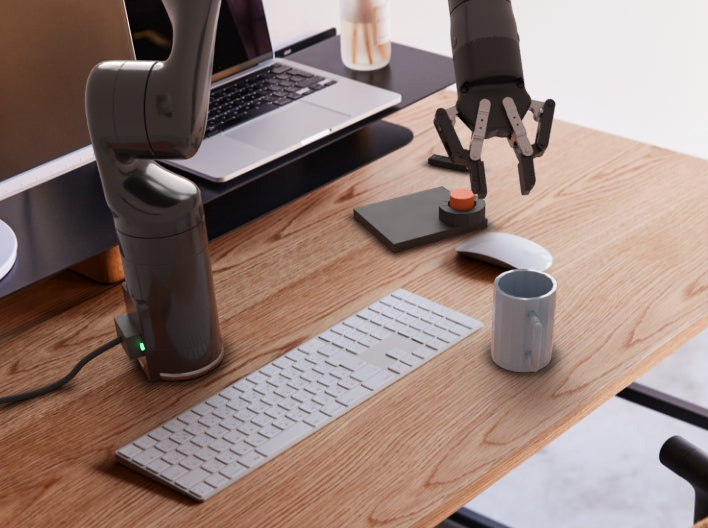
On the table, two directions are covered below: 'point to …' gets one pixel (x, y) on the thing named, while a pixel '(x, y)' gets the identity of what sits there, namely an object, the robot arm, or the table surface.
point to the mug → (523, 319)
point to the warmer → (419, 218)
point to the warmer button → (461, 199)
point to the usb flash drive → (445, 162)
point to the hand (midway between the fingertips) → (504, 194)
